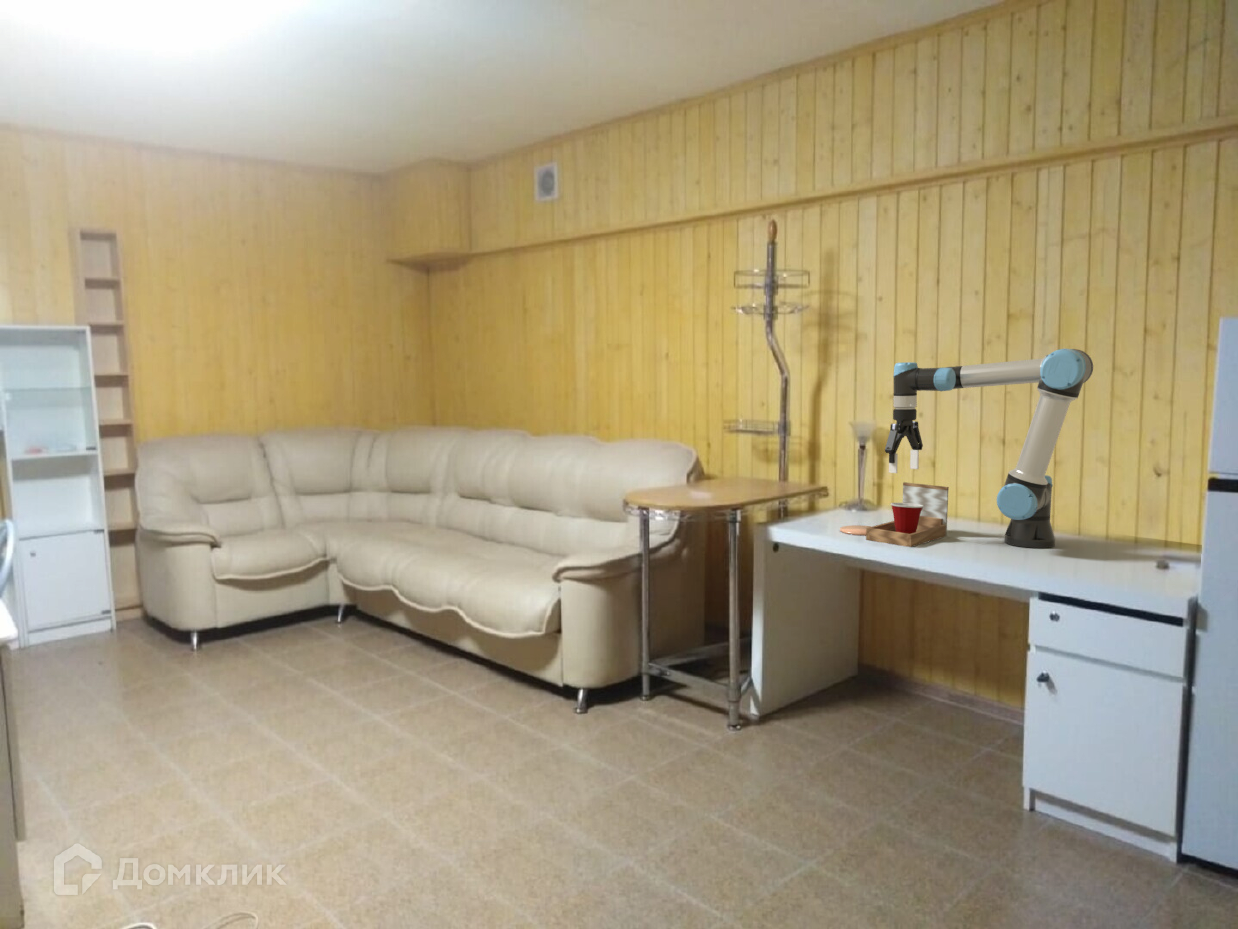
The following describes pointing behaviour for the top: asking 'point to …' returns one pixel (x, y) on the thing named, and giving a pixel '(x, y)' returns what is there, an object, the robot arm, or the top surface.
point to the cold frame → (929, 520)
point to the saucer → (854, 530)
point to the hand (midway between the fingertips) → (903, 470)
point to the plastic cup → (906, 516)
